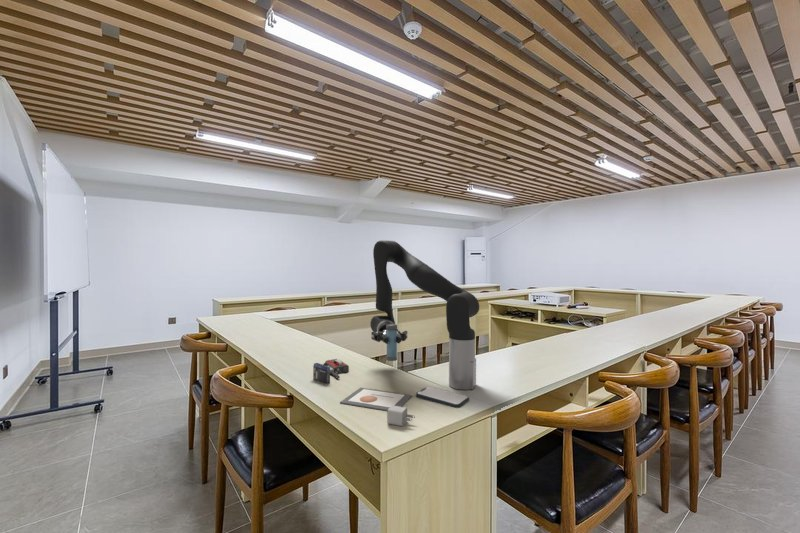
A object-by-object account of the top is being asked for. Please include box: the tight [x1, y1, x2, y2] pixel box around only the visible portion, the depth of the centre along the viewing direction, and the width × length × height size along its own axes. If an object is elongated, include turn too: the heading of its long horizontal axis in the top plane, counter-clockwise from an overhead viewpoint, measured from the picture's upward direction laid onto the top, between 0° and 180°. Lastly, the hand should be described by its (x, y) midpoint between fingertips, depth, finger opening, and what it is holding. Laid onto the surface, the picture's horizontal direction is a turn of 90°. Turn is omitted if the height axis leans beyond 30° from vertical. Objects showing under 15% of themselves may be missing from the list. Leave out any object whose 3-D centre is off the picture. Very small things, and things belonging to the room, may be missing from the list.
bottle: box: [386, 323, 398, 362], centre depth 123 cm, size 4×4×12 cm
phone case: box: [415, 386, 470, 409], centre depth 116 cm, size 9×2×16 cm
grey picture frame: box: [339, 387, 413, 412], centre depth 115 cm, size 19×14×1 cm
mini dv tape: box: [312, 362, 331, 385], centre depth 133 cm, size 8×2×6 cm, turn 49°
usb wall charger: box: [386, 405, 416, 427], centre depth 98 cm, size 4×7×4 cm, turn 67°
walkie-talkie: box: [322, 358, 350, 379], centre depth 144 cm, size 9×4×20 cm
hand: (392, 340), depth 120 cm, fingers closed on bottle, 3 cm apart
